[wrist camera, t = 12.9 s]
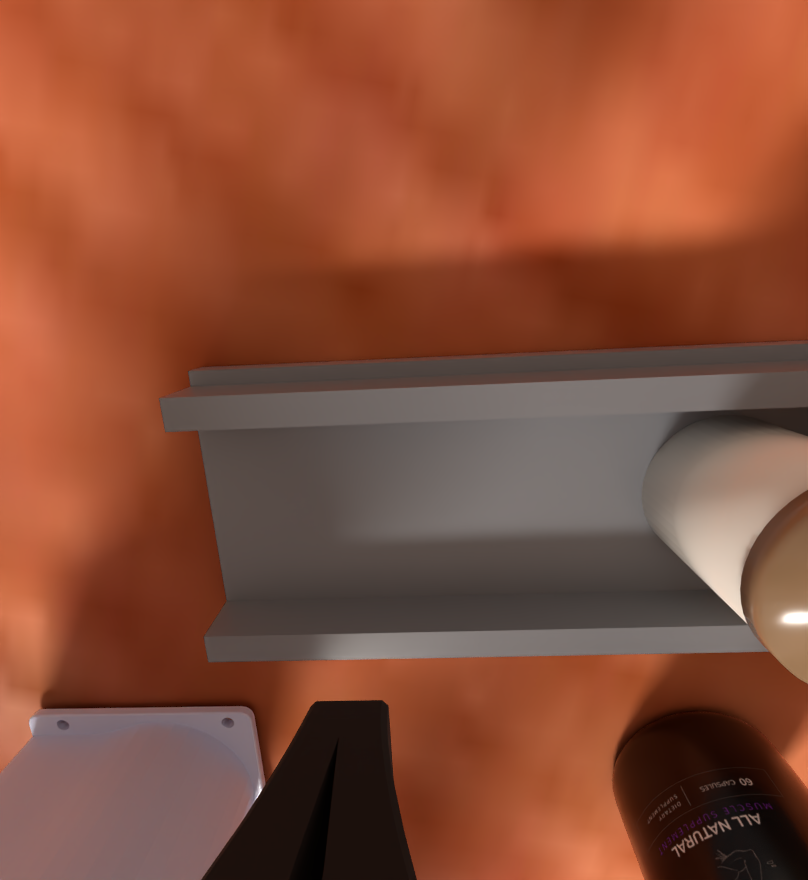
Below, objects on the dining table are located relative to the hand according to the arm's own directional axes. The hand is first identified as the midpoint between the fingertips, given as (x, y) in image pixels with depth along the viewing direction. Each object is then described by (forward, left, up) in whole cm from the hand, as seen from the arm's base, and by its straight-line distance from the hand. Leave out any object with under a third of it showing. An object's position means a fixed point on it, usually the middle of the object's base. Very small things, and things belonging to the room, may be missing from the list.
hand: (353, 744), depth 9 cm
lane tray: (+6, +1, -9) cm, 11 cm away
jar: (+11, +1, -8) cm, 14 cm away
